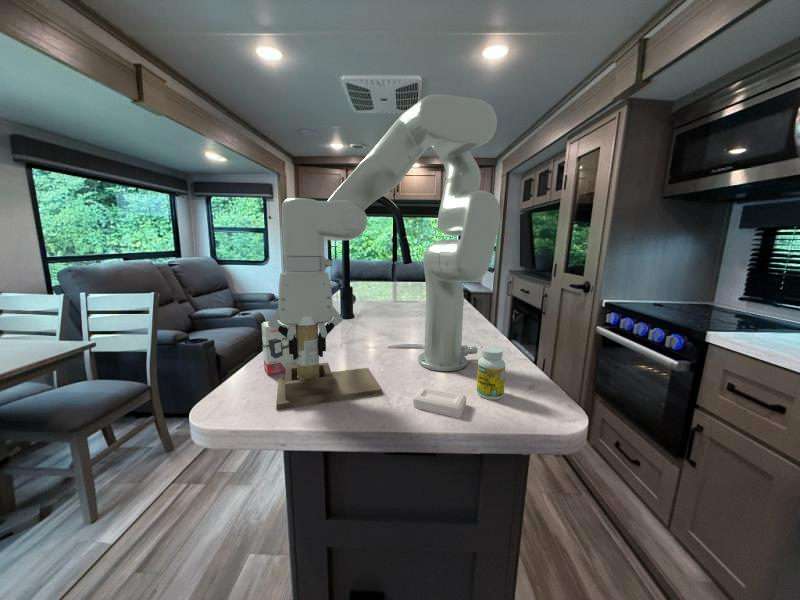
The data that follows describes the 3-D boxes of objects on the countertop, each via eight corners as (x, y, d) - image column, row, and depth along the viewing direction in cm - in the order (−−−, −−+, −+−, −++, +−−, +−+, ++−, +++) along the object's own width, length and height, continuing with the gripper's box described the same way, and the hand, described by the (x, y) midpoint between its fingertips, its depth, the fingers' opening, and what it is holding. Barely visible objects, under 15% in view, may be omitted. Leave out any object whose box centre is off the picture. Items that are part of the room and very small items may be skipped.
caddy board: (368, 371, 73) (367, 355, 72) (382, 393, 62) (382, 375, 61) (278, 382, 66) (277, 365, 66) (276, 409, 55) (275, 388, 54)
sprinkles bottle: (294, 376, 63) (291, 312, 61) (316, 371, 65) (314, 310, 63) (300, 384, 59) (297, 317, 57) (323, 379, 61) (321, 314, 59)
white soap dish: (460, 420, 53) (460, 407, 53) (412, 409, 57) (412, 397, 56) (466, 406, 58) (466, 394, 58) (421, 396, 62) (421, 385, 61)
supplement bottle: (507, 393, 63) (510, 349, 61) (497, 403, 59) (500, 356, 57) (483, 386, 66) (485, 343, 64) (471, 394, 62) (474, 349, 60)
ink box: (267, 376, 70) (264, 326, 68) (263, 369, 74) (260, 321, 72) (304, 368, 74) (303, 321, 72) (299, 362, 78) (297, 317, 76)
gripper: (345, 264, 65) (346, 346, 68) (258, 264, 59) (264, 354, 62) (351, 266, 58) (352, 358, 61) (254, 266, 52) (260, 367, 55)
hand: (307, 355), depth 61 cm, fingers closed on sprinkles bottle, 4 cm apart
